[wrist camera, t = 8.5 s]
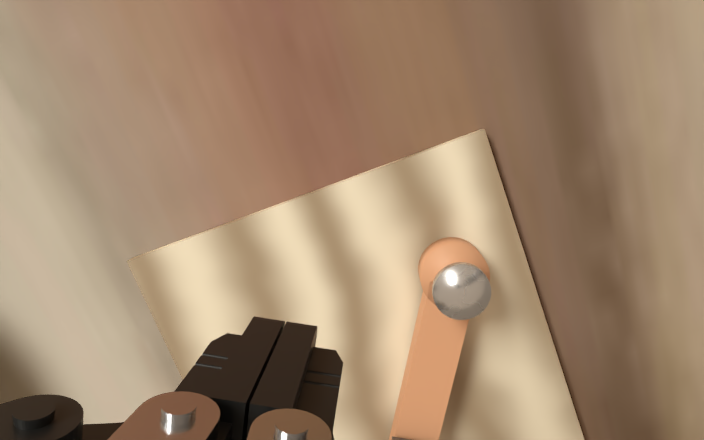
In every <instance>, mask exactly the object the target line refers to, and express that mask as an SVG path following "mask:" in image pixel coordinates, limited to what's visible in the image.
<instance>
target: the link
mask: <svg viewBox="0 0 704 440" xmlns="http://www.w3.org/2000/svg"><path fill="white" fill-rule="evenodd" d="M457 262H466V263H470V264H473V265H475V266H477V267H478V268H480V269H481V270H482V271H483V272H484V274H485V275H486V277H487V278H488V280H489V282H490V271H489V267H488V265H487V262H486V261H485V259H484V258H483V256H482V255H481V254H480V252H479V251H478V250H477V248H476V247H475V246H474V245H473V244H471V243H470V242H468V241H466V240H464V239H461V238H456V237H447V238H442V239H439V240H437V241H435V242H433V243H432V244H430V245H429V246H428V247H427V248H426V249H425V250H424V252H423V253H422V255H421V257H420V260H419V264H418V274H419V278H420V282H421V286H422V289H423V293H422V297H421V302H420V306H419V310H418V315H417V319H416V323H415V328H414V332H413V336H412V341H411V345H410V350H409V354H408V358H407V363H406V367H405V371H404V376H403V380H402V385H401V389H400V393H399V398H398V402H397V406H396V411H395V415H394V420H393V424H392V428H391V433H390V437H389V440H392V436H393V437H399V438H405V439H411V440H439V437H440V433H441V429H442V425H443V421H444V417H445V413H446V409H447V405H448V401H449V397H450V393H451V389H452V385H453V381H454V377H455V373H456V369H457V365H458V361H459V357H460V353H461V349H462V345H463V341H464V337H465V333H466V330H467V326H468V322H469V319H467V320H456V319H452V318H449V317H447V316H446V315H444V314H443V313H442V312H441V311H440V310H439V309H438V308H437V306H436V304H435V302H434V299H433V295H432V284H433V281H434V279H435V277H436V275H437V274H438V272H439V271H440V270H441V269H443V268H444V267H446V266H447V265H450V264H452V263H457Z"/></svg>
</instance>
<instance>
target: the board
mask: <svg viewBox="0 0 704 440" xmlns="http://www.w3.org/2000/svg"><path fill="white" fill-rule="evenodd" d="M447 237H456V238H461V239H464V240H466V241H468V242H470V243H471V244H473V245H474V246H475V247H476V248H477V250H478V251H479V252H480V254H481V255H482V256H483V258H484V259H485V261H486V262H487V265H488V267H489V271H490V285H491V298H490V301H489V304H488V305H487V307H486V308H485V310H484V311H483V312H482V313H480V314H479V315H477V316H476V317H473V318H471V319H469V322H468V326H467V330H466V333H465V337H464V341H463V345H462V349H461V353H460V357H459V361H458V365H457V369H456V373H455V377H454V381H453V385H452V389H451V393H450V397H449V401H448V405H447V409H446V413H445V417H444V421H443V425H442V429H441V433H440V437H439V440H584V437H583V434H582V430H581V427H580V424H579V421H578V418H577V415H576V412H575V409H574V406H573V402H572V399H571V396H570V393H569V390H568V387H567V384H566V381H565V378H564V374H563V371H562V368H561V365H560V362H559V359H558V356H557V353H556V350H555V346H554V343H553V340H552V337H551V334H550V331H549V328H548V325H547V322H546V318H545V315H544V312H543V309H542V306H541V303H540V300H539V297H538V294H537V291H536V287H535V284H534V281H533V278H532V275H531V272H530V269H529V266H528V263H527V259H526V256H525V253H524V250H523V247H522V244H521V241H520V238H519V235H518V231H517V228H516V225H515V222H514V219H513V216H512V213H511V210H510V207H509V203H508V200H507V197H506V194H505V191H504V188H503V185H502V182H501V179H500V175H499V172H498V169H497V166H496V163H495V160H494V157H493V154H492V151H491V147H490V144H489V141H488V138H487V135H486V132H485V130H484V129H480V130H478V131H475V132H472V133H470V134H467V135H464V136H461V137H459V138H456V139H453V140H451V141H448V142H445V143H442V144H440V145H437V146H434V147H432V148H429V149H426V150H423V151H421V152H418V153H415V154H413V155H410V156H407V157H404V158H402V159H399V160H396V161H394V162H391V163H388V164H385V165H383V166H380V167H377V168H375V169H372V170H369V171H366V172H364V173H361V174H358V175H356V176H353V177H350V178H347V179H345V180H342V181H339V182H337V183H334V184H331V185H329V186H326V187H323V188H320V189H318V190H315V191H312V192H310V193H307V194H304V195H301V196H299V197H296V198H293V199H291V200H288V201H285V202H282V203H280V204H277V205H274V206H272V207H269V208H266V209H263V210H261V211H258V212H255V213H253V214H250V215H247V216H244V217H242V218H239V219H236V220H234V221H231V222H228V223H225V224H223V225H220V226H217V227H215V228H212V229H209V230H206V231H204V232H201V233H198V234H196V235H193V236H190V237H187V238H185V239H182V240H179V241H177V242H174V243H171V244H168V245H166V246H163V247H160V248H158V249H155V250H152V251H149V252H147V253H144V254H141V255H139V256H136V257H133V258H132V259H130V260H128V261H127V263H128V265H129V267H130V269H131V271H132V274H133V276H134V278H135V280H136V282H137V284H138V286H139V288H140V290H141V292H142V295H143V297H144V299H145V301H146V303H147V305H148V307H149V309H150V311H151V314H152V316H153V318H154V320H155V322H156V324H157V326H158V328H159V330H160V332H161V335H162V337H163V339H164V341H165V343H166V345H167V347H168V349H169V351H170V353H171V356H172V358H173V360H174V362H175V364H176V366H177V368H178V370H179V372H180V375H181V377H182V379H184V378H185V377H186V375H187V374H188V372H189V371H190V370H191V368H192V367H193V366H194V365H195V364H196V362H197V360H198V359H199V357H200V356H201V355H202V354H203V352H204V351H205V349H206V348H207V346H208V345H209V344H210V342H211V341H213V340H215V339H217V338H219V337H221V336H223V335H225V334H226V333H230V334H237V335H242V334H243V333H244V331H245V329H246V328H247V326H248V325H249V323H250V321H251V320H252V318H253V317H254V316H256V317H262V318H269V319H275V320H281V321H285V324H286V322H287V321H288V322H294V323H301V324H307V325H313V326H317V338H316V345H315V347H318V348H325V349H331V350H336V351H337V353H338V355H339V356H340V358H341V360H342V361H343V368H342V374H341V381H340V388H339V394H338V401H337V407H336V414H335V420H334V427H333V436H334V440H389V437H390V433H391V428H392V424H393V420H394V415H395V411H396V406H397V402H398V398H399V393H400V389H401V385H402V380H403V376H404V371H405V367H406V363H407V358H408V354H409V350H410V345H411V341H412V336H413V332H414V328H415V323H416V319H417V315H418V310H419V306H420V302H421V297H422V293H423V289H422V286H421V282H420V278H419V274H418V264H419V260H420V257H421V255H422V253H423V252H424V250H425V249H426V248H427V247H428V246H429V245H430V244H432V243H433V242H435V241H437V240H439V239H442V238H447Z"/></svg>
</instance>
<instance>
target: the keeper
mask: <svg viewBox="0 0 704 440" xmlns="http://www.w3.org/2000/svg"><path fill="white" fill-rule="evenodd" d="M392 440H411V439H405V438H399V437H393V436H392Z"/></svg>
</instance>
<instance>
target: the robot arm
mask: <svg viewBox="0 0 704 440" xmlns="http://www.w3.org/2000/svg"><path fill="white" fill-rule="evenodd" d="M316 338H317V326H313V325H307V324H301V323H294V322H288V321H287V322H286V324H285V321H281V320H275V319H269V318H262V317H256V316H254V317H253V318H252V320H251V321H250V323H249V325H248V326H247V328H246V329H245V331H244V333H243V334H242V335H237V334H230V333H226V334H225V335H223V336H221V337H219V338H217V339H215V340H213V341H211V342H210V344H209V345H208V346H207V348H206V349H205V351H204V352H203V354H202V355H201V356H200V357H199V359H198V360H197V362H196V364H195V365H194V366H193V367H192V368H191V370H190V371H189V372H188V374H187V375H186V377H185V378H184V379H183V381H182V382H181V383H180V385H179V386H178V387H177V389H176V390H175V392H169V393H164V394H160V395H157V396H155V397H152V398H150V399H148V400H147V401H145V402H144V403H143V404H142V405H140V406H139V407H138V408H137V409H136V410H135V412H134V413H133V414H132V415H131V416H130V417H129V418H128V419H127V420H126V421H125V422H122V423H107V424H85V425H83V408H82V407H81V405H80V404H79V403H78V402H77V401H75V400H73V399H71V398H68V397H65V396H60V395H35V396H29V397H25V398H21V399H17V400H13V401H10V402H7V403H3V404H0V440H334V436H333V427H334V420H335V414H336V407H337V401H338V394H339V388H340V381H341V374H342V368H343V361H342V360H341V358H340V356H339V355H338V353H337V351H336V350H331V349H325V348H318V347H315V345H316Z"/></svg>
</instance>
